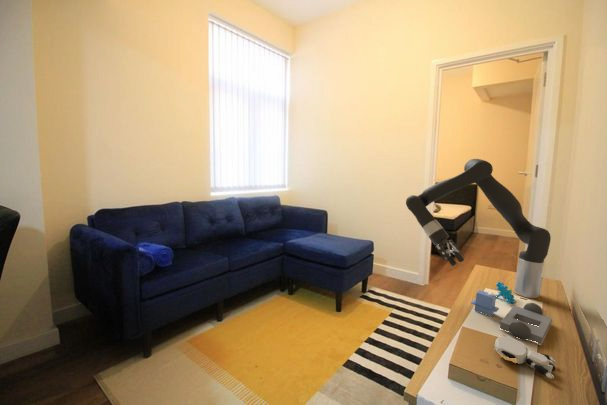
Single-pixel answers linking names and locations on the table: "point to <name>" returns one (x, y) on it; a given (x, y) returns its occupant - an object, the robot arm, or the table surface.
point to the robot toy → (525, 355)
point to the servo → (485, 302)
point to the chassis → (527, 315)
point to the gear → (505, 292)
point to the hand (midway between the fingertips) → (458, 263)
